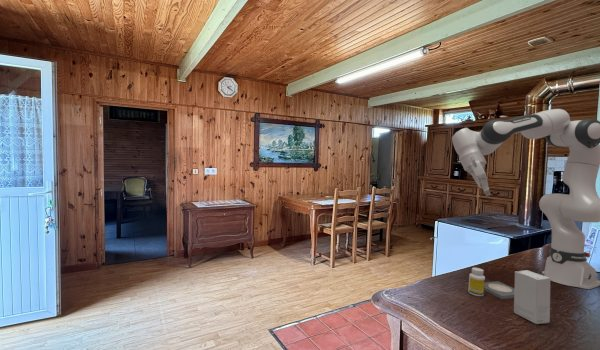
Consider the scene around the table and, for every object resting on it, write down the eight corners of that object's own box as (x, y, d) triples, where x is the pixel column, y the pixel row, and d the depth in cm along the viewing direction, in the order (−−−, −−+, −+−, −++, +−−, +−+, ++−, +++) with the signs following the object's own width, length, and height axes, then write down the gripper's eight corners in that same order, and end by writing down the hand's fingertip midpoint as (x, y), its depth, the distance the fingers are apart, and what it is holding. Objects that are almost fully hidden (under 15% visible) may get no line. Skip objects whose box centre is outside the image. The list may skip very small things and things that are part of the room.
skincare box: (549, 323, 98) (553, 278, 97) (535, 325, 97) (538, 279, 96) (525, 310, 106) (528, 269, 105) (511, 311, 105) (514, 269, 104)
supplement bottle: (486, 297, 116) (488, 272, 115) (470, 295, 117) (472, 270, 116) (480, 291, 121) (482, 267, 120) (466, 289, 122) (467, 266, 121)
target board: (497, 283, 129) (498, 280, 129) (525, 296, 118) (525, 292, 118) (475, 286, 126) (475, 282, 126) (501, 299, 115) (501, 295, 115)
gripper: (480, 152, 119) (495, 184, 114) (483, 166, 136) (496, 194, 130) (463, 159, 122) (477, 190, 117) (468, 171, 139) (481, 199, 133)
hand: (487, 192), depth 124 cm, fingers open, 8 cm apart
